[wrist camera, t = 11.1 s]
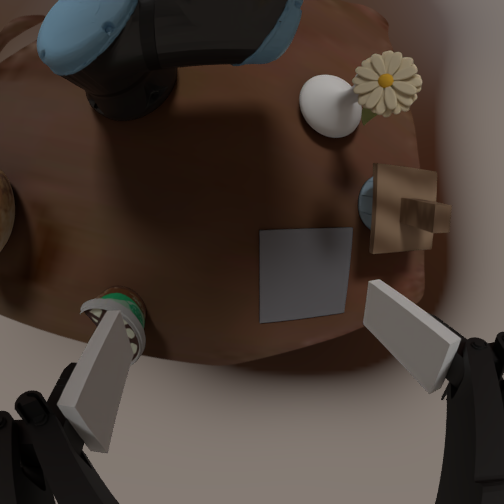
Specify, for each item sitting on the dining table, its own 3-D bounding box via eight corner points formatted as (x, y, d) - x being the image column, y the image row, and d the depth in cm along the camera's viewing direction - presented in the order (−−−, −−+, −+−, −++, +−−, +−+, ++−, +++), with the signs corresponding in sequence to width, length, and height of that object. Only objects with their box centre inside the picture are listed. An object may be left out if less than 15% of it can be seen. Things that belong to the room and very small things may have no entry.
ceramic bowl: (358, 172, 44) (381, 173, 38) (403, 176, 46) (427, 179, 40) (356, 232, 48) (377, 241, 41) (400, 231, 49) (422, 239, 43)
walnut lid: (373, 163, 37) (412, 164, 28) (432, 171, 39) (470, 175, 31) (368, 251, 41) (403, 270, 32) (427, 247, 43) (461, 261, 34)
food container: (167, 318, 46) (160, 351, 37) (143, 334, 46) (132, 368, 37) (122, 265, 42) (103, 288, 33) (99, 284, 42) (77, 310, 33)
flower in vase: (318, 66, 38) (406, 1, 14) (366, 107, 41) (472, 80, 18) (277, 116, 40) (356, 62, 16) (330, 159, 43) (440, 156, 19)
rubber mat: (259, 230, 44) (259, 230, 44) (351, 227, 47) (352, 227, 47) (259, 322, 49) (259, 323, 49) (343, 311, 52) (343, 312, 51)
